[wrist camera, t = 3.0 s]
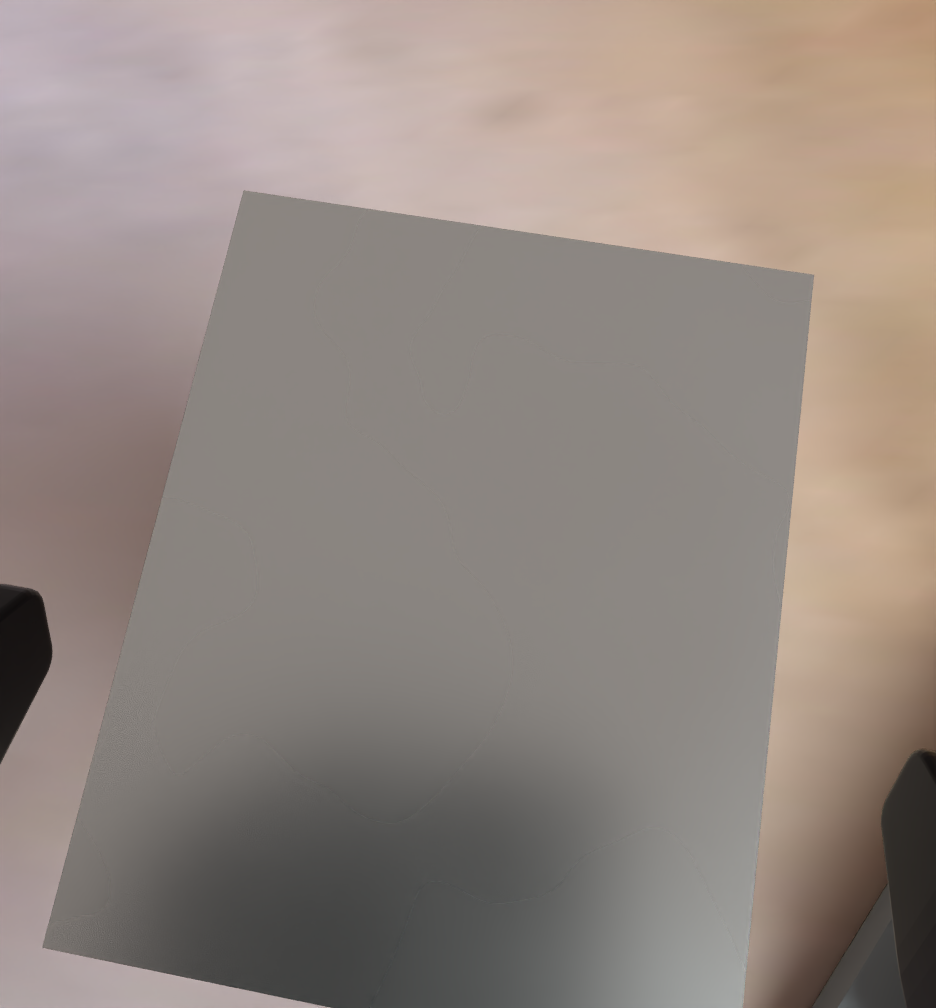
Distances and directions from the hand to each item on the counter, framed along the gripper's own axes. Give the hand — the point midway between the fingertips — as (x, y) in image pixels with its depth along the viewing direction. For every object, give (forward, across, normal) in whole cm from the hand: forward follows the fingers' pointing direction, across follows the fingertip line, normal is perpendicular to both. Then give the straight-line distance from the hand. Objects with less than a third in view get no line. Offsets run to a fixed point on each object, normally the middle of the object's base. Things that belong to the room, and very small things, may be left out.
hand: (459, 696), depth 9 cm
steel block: (+6, 0, +6) cm, 8 cm away
